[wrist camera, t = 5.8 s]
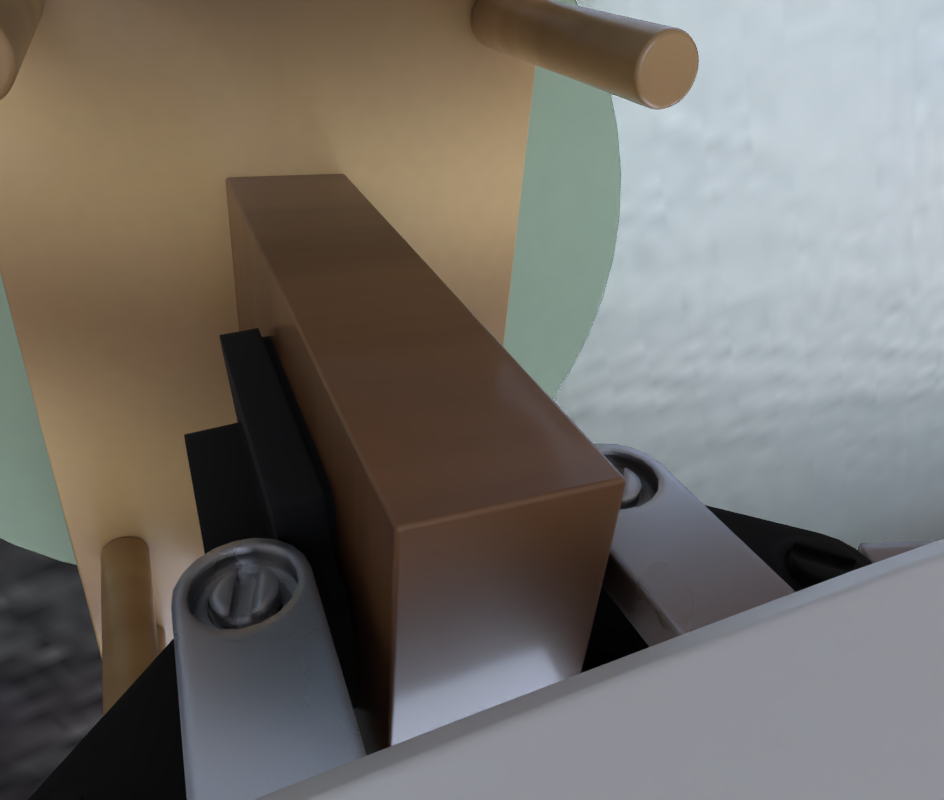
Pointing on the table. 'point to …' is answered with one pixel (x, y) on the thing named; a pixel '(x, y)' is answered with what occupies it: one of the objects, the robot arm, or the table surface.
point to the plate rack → (313, 309)
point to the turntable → (529, 310)
